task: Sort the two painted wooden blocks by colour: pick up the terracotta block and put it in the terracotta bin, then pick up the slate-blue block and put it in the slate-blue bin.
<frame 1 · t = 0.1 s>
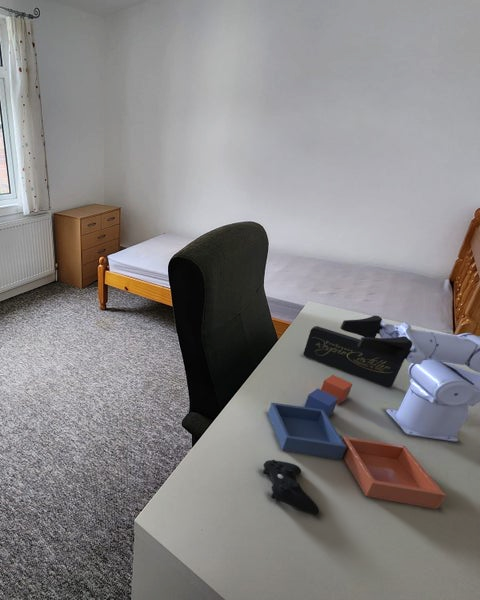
hand: (350, 333, 72), 22 cm above the table, tool horizontal, fingers open, 7 cm apart
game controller: (286, 489, 63), on the table
blue bin: (301, 435, 74), on the table
terracotta block: (332, 396, 86), on the table
nameplate: (344, 370, 97), on the table
blue block: (317, 411, 81), on the table
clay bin: (383, 476, 65), on the table
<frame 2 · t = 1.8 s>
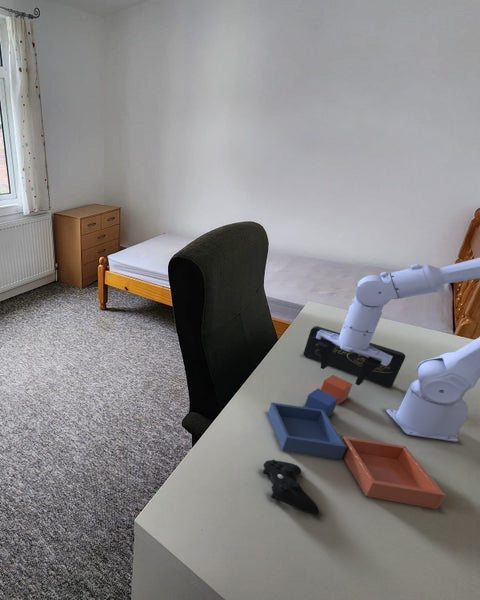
hand: (340, 375, 84), 7 cm above the table, tool pointing down, fingers open, 7 cm apart
nothing on the table moved.
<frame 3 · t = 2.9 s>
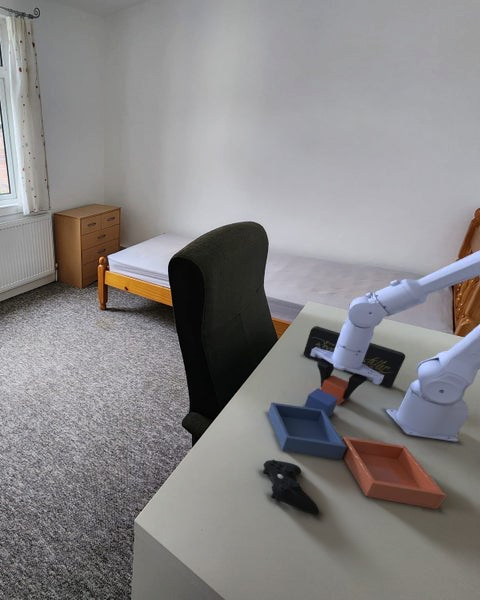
hand: (334, 392, 86), 1 cm above the table, tool pointing down, fingers closed on terracotta block, 4 cm apart
terracotta block: (332, 396, 86), on the table, touching gripper
everything else where it was.
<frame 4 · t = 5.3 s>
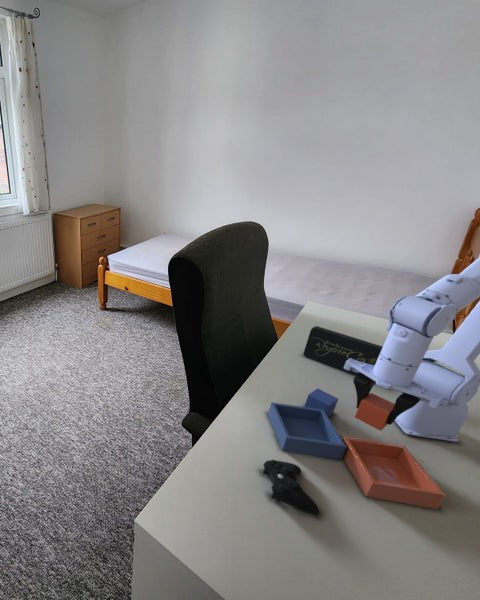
hand: (374, 414, 69), 8 cm above the table, tool pointing down, fingers closed on terracotta block, 4 cm apart
terracotta block: (371, 419, 70), point 6 cm above the table, touching gripper
everything else where it was.
when the fingers open (2 cm above the table, at t = 7.8 s): terracotta block stays where it is, resting on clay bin.
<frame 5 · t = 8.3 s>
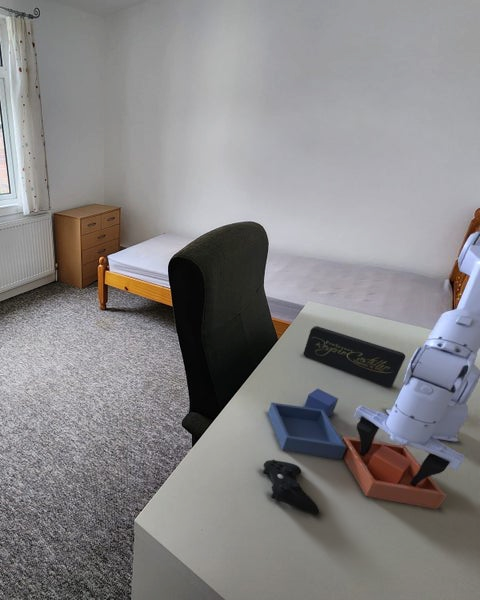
hand: (387, 467, 64), 2 cm above the table, tool pointing down, fingers open, 7 cm apart
terracotta block: (384, 474, 65), resting on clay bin
everything else where it was.
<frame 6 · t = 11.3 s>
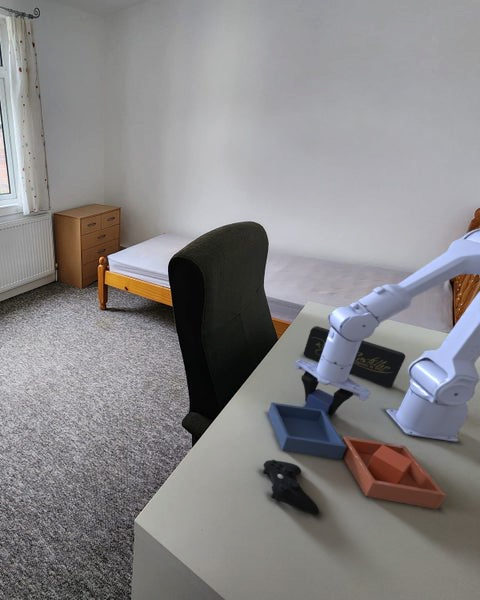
hand: (319, 407, 81), 1 cm above the table, tool pointing down, fingers closed on blue block, 4 cm apart
blue block: (318, 411, 81), on the table, touching gripper
everything else where it was.
when the fingers open (2 cm above the table, at t = 15.1 s): blue block stays where it is, resting on blue bin.
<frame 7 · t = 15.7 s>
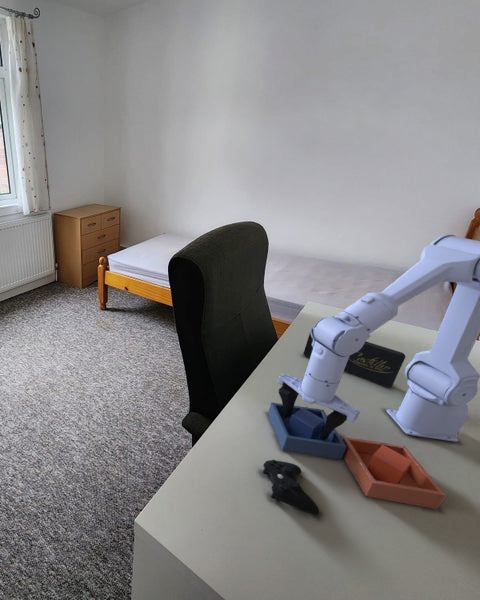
hand: (304, 426, 73), 3 cm above the table, tool pointing down, fingers open, 7 cm apart
blue block: (302, 433, 74), resting on blue bin
everything else where it was.
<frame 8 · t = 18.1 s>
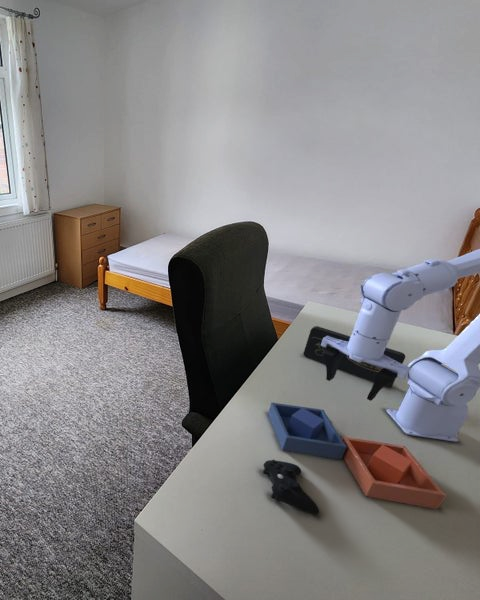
hand: (349, 388, 73), 10 cm above the table, tool pointing down, fingers open, 7 cm apart
nothing on the table moved.
at the end: terracotta block inside the target area in the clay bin (0.1 cm from its centre), point 0.5 cm above the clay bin's base; blue block inside the target area in the blue bin (0.0 cm from its centre), point 0.5 cm above the blue bin's base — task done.
